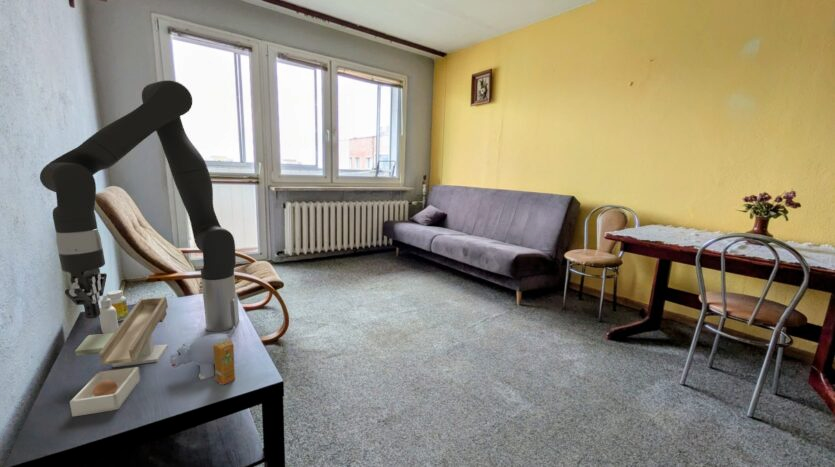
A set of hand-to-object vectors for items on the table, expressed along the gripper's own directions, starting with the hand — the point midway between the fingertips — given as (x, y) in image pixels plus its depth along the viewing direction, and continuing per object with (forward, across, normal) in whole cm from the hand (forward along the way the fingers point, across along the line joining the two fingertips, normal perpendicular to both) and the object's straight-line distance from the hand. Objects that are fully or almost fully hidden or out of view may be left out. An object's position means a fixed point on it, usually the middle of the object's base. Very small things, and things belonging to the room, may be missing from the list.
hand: (93, 316), depth 85 cm
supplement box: (+16, -12, -30) cm, 36 cm away
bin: (+15, -12, -6) cm, 20 cm away
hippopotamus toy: (+16, -5, -24) cm, 29 cm away
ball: (+13, -12, -6) cm, 19 cm away
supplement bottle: (+16, +35, +11) cm, 40 cm away
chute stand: (+15, +6, -6) cm, 17 cm away
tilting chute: (+10, +7, -3) cm, 13 cm away
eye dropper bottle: (+16, +25, +9) cm, 31 cm away
